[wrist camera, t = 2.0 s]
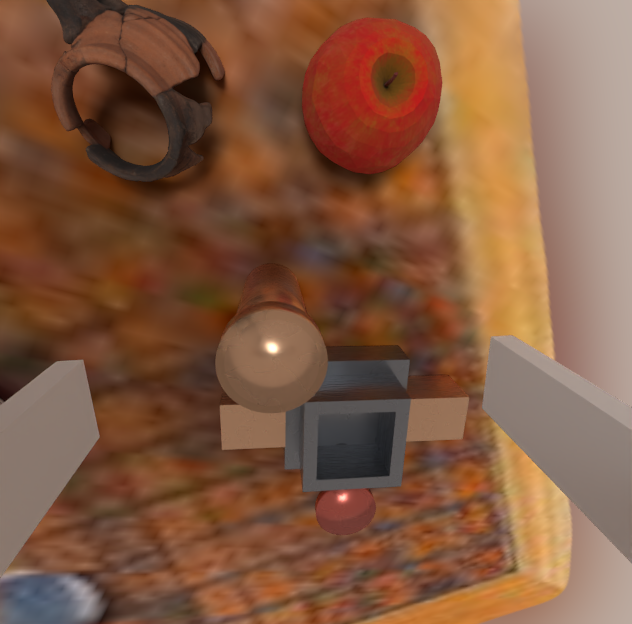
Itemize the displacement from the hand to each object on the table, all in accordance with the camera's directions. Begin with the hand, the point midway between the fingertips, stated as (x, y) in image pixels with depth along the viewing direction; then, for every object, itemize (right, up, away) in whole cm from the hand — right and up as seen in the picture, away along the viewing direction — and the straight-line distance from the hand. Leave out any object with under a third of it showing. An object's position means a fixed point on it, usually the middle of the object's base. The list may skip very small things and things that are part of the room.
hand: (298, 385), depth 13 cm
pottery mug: (-11, +18, +14) cm, 25 cm away
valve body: (+3, -8, +23) cm, 24 cm away
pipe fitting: (-3, +4, +19) cm, 19 cm away
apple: (+3, +17, +16) cm, 23 cm away
